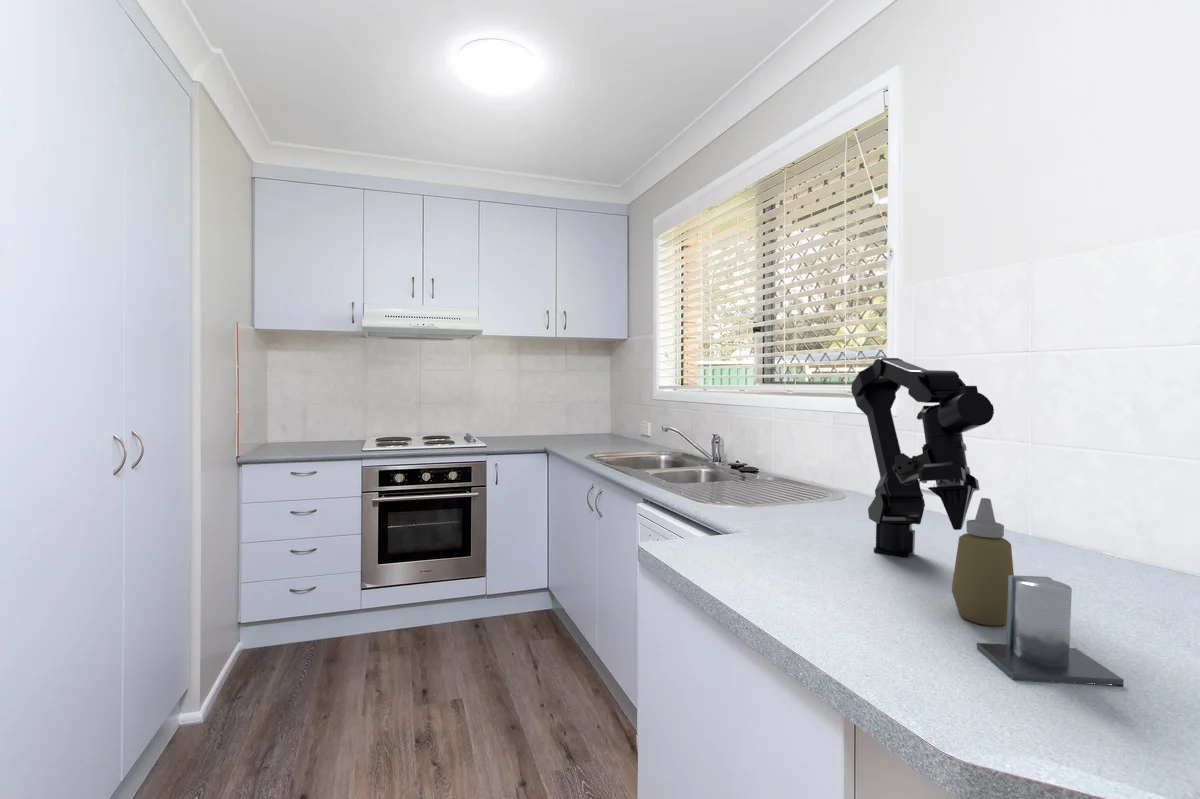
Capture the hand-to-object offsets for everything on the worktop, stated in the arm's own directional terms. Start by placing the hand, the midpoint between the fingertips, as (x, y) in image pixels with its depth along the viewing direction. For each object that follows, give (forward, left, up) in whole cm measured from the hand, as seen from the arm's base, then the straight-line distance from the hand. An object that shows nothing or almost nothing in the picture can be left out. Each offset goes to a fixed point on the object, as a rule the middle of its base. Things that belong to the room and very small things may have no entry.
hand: (957, 529), depth 98 cm
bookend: (+12, -24, -10) cm, 29 cm away
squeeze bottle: (+4, -12, -10) cm, 16 cm away
